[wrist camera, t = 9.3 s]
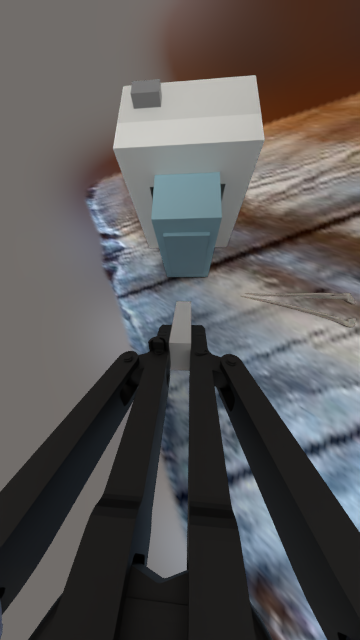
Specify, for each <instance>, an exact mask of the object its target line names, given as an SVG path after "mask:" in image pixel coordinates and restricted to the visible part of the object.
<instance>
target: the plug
mask: <svg viewBox="0 0 360 640" xmlns="http://www.w3.org/2000/svg"><path fill="white" fill-rule="evenodd" d="M221 219H222V208H221V186H220V172H210V173H189V174H167V175H155V178H154V190H153V203H152V216H151V220H152V224H153V228H154V231H155V235H156V239H157V242H158V246H159V249H160V253H161V257H162V260H163V264H164V267H165V271H166V275H167V277H208V273H209V269H210V264H211V260H212V256H213V252H214V248H215V244H216V240H217V236H218V232H219V228H220V223H221Z"/></svg>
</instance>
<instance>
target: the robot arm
mask: <svg viewBox="0 0 360 640" xmlns="http://www.w3.org/2000/svg"><path fill="white" fill-rule="evenodd" d="M148 343H149V349H150V352H148V353H145V354H141V355H138V354H137V353H136V352H134V351H128V352H125V353H123V354H121V355H120V356H119V358H117V360H116V361H115V362H114V363H113V364H112V365H111V366H110V368H109V369H108V370H107V371H106V372H105V374H104V375H103V376H102V377H101V378H100V379H99V380H98V381H97V382H96V384H95V385H94V386H93V387H92V388H91V389H90V391H88V393H87V394H86V395H85V396H84V397H83V398H82V400H81V401H80V402H79V403H78V404H77V405H76V406H75V407H74V409H73V410H72V411H71V412H70V413H69V414H68V415H67V417H66V418H65V419H64V420H63V421H62V422H61V423H60V425H59V426H58V427H57V428H56V429H55V430H54V431H53V433H52V434H51V435H50V436H49V437H48V438H47V439H46V441H45V442H44V443H43V444H42V445H41V446H40V447H39V448H38V450H37V451H36V452H35V453H34V454H33V455H32V456H31V458H30V459H29V460H28V461H27V462H26V463H25V464H24V466H23V467H22V468H21V469H20V470H19V471H18V472H17V473H16V475H15V476H14V477H13V478H12V479H11V480H10V481H9V483H8V484H7V485H6V486H5V487H4V488H3V490H2V491H1V492H0V638H1V635H2V628H3V624H2V614H3V613H4V612H5V610H6V609H7V608H8V606H9V605H10V604H11V602H12V601H13V600H14V598H15V597H16V596H17V594H18V593H19V592H20V590H21V589H22V587H23V586H24V585H25V583H26V582H27V580H28V579H29V577H30V576H31V574H32V573H33V571H34V570H35V568H36V567H37V565H38V564H39V562H40V560H41V559H42V557H43V555H44V554H45V552H46V551H47V549H48V547H49V546H50V544H51V543H52V541H53V539H54V537H55V536H56V533H57V532H58V530H59V529H60V527H61V525H62V523H63V522H64V520H65V518H66V517H67V515H68V513H69V511H70V510H71V508H72V506H73V504H74V503H75V501H76V499H77V497H78V496H79V494H80V492H81V490H82V489H83V487H84V485H85V483H86V482H87V480H88V478H89V477H90V475H91V473H92V471H93V470H94V468H95V466H96V464H97V463H98V461H99V459H100V458H101V456H102V454H103V452H104V451H105V449H106V447H107V445H108V444H109V442H110V440H111V439H112V437H113V435H114V433H115V432H116V430H117V428H118V426H119V425H120V423H121V421H122V420H123V418H124V416H125V414H126V413H127V411H128V409H129V407H130V406H131V404H132V402H133V404H132V408H131V411H130V414H129V417H128V420H127V423H126V426H125V429H124V432H123V436H122V439H121V442H120V445H119V448H118V451H117V454H116V457H115V460H114V463H113V466H112V470H111V473H110V476H109V479H108V482H107V485H106V488H105V491H104V494H103V495H102V497H101V499H100V500H99V502H98V503H97V504H96V505H95V507H94V509H93V511H92V513H91V515H90V518H89V520H88V523H87V525H86V528H85V531H84V534H83V536H82V540H81V542H80V545H79V548H78V551H77V554H76V557H75V559H74V562H73V565H72V568H71V571H70V574H69V577H68V580H67V583H66V586H65V588H64V591H63V593H62V594H61V596H60V597H59V598H58V599H57V601H56V602H55V603H54V604H53V606H52V607H51V608H50V610H49V611H48V613H47V614H46V616H45V617H44V618H43V620H42V621H41V622H40V624H39V625H38V627H37V628H36V629H35V631H34V632H33V634H32V635H31V636H30V638H29V639H28V640H272V638H271V636H270V634H269V632H268V630H267V628H266V626H265V624H264V623H263V621H262V619H261V618H260V616H259V614H258V613H257V611H256V609H255V608H254V607H253V605H252V604H251V602H250V600H249V594H248V587H247V581H246V574H245V568H244V561H243V555H242V548H241V542H240V536H239V531H238V526H237V522H236V519H235V516H234V513H233V510H232V506H231V500H230V494H229V487H228V480H227V473H226V465H225V458H224V451H223V444H222V437H221V430H220V423H219V416H218V409H217V402H216V395H215V388H214V386H216V387H217V390H218V392H219V395H220V397H221V399H222V402H223V404H224V407H225V409H226V411H227V414H228V416H229V418H230V421H231V423H232V426H233V428H234V430H235V433H236V435H237V437H238V440H239V442H240V445H241V447H242V449H243V452H244V454H245V456H246V459H247V461H248V464H249V466H250V468H251V471H252V473H253V475H254V478H255V480H256V483H257V485H258V487H259V490H260V492H261V494H262V497H263V499H264V502H265V504H266V506H267V509H268V511H269V513H270V516H271V518H272V520H273V523H274V525H275V528H276V530H277V532H278V535H279V537H280V539H281V542H282V544H283V547H284V549H285V551H286V554H287V556H288V558H289V561H290V563H291V566H292V568H293V570H294V573H295V575H296V577H297V579H298V581H299V584H300V586H301V588H302V590H303V592H304V595H305V597H306V599H307V601H308V603H309V605H310V607H311V609H312V611H313V613H314V615H315V617H316V619H317V621H318V623H319V625H320V626H321V628H322V630H323V632H324V634H325V636H326V638H327V640H360V532H359V531H358V529H357V528H356V527H355V525H354V524H353V522H352V521H351V519H350V518H349V516H348V515H347V513H346V512H345V511H344V509H343V508H342V506H341V505H340V503H339V502H338V500H337V499H336V497H335V496H334V495H333V493H332V492H331V490H330V489H329V487H328V486H327V484H326V483H325V482H324V480H323V479H322V477H321V476H320V474H319V473H318V471H317V470H316V468H315V467H314V466H313V464H312V463H311V461H310V460H309V458H308V457H307V455H306V454H305V452H304V451H303V450H302V448H301V447H300V445H299V444H298V442H297V441H296V439H295V438H294V436H293V435H292V434H291V432H290V431H289V429H288V428H287V426H286V425H285V423H284V422H283V421H282V419H281V418H280V416H279V415H278V413H277V412H276V410H275V409H274V407H273V406H272V405H271V403H270V402H269V400H268V399H267V397H266V396H265V394H264V393H263V391H262V390H261V389H260V387H259V386H258V384H257V383H256V381H255V380H254V378H253V377H252V376H251V374H250V373H249V371H248V370H247V368H246V367H245V365H244V364H243V362H242V361H241V360H240V359H239V358H238V357H237V356H235V355H232V354H226V355H223V356H222V357H218V356H215V355H213V354H211V353H210V352H209V350H208V348H207V341H206V333H205V328H204V327H203V326H202V325H191V302H187V301H177V302H176V307H175V313H174V318H173V323H172V325H162V326H161V327H160V328H159V331H158V334H157V336H156V337H153V338H151V339H150V340H149V342H148ZM170 368H171V370H185V371H190V377H189V457H188V527H187V570H186V571H184V572H181V573H179V574H176V575H174V576H171V577H168V578H162V577H161V576H159V575H158V574H156V573H155V572H153V571H152V570H150V569H149V568H148V567H146V566H147V558H148V551H149V543H150V534H151V519H152V518H151V517H152V507H153V500H154V492H155V485H156V477H157V470H158V462H159V455H160V448H161V440H162V433H163V425H164V418H165V410H166V403H167V395H168V388H169V381H170ZM133 400H134V401H133Z"/></svg>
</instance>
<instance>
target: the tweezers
mask: <svg viewBox="0 0 360 640" xmlns="http://www.w3.org/2000/svg"><path fill="white" fill-rule="evenodd" d="M245 294H250V295H256V296H293V297H303V298H319V299H343V300H345V301H347V302H349V303H350V304H355V300H354V298H353V297H352V295H350V294H351V293H342V294H331V293H301V294H251V293H245ZM331 295H335V296H331ZM241 297H245V296H241ZM245 298H250V299H254V300H259V301H264V302H268V303H273V304H277V305H280V306H284V307H288V308H292V309H296V310H299V311H303V312H307V313H311V314H314V315H317V316H320V317H323V318H326V319H330V320H332V321H335V322H337V323H340V324H343V325H345V326H348V327H354V325H355V322H356V318H352V319H348V320H346V321H345V320H344V319H341V318H338V317H334V316H332V315H328V314H324V313H320V312H316V311H312V310H308V309H305V308H301V307H297V306H293V305H289V304H284V303H280V302H274V301H270V300H264V299H258V298H252V297H245Z"/></svg>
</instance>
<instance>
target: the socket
mask: <svg viewBox="0 0 360 640" xmlns="http://www.w3.org/2000/svg"><path fill="white" fill-rule="evenodd" d="M264 140H265V139H264V132H263V125H262V117H261V111H260V103H259V96H258V89H257V82H256V76H255V75H253V76H241V77H229V78H218V79H205V80H192V81H181V82H168V83H160V79H156V80H146V81H145V80H144V81H133V82H132V86H123V92H122V98H121V104H120V110H119V116H118V122H117V128H116V134H115V140H114V147H113V150H114V152H115V155H116V158H117V161H118V163H119V166H120V169H121V172H122V174H123V177H124V180H125V182H126V185H127V188H128V191H129V193H130V196H131V199H132V202H133V204H134V207H135V210H136V212H137V215H138V218H139V221H140V223H141V226H142V229H143V231H144V234H145V237H146V240H147V242H148V245H149V248H159V246H158V242H157V239H156V235H155V231H154V228H153V224H152V220H151V216H152V203H153V190H154V178H155V175H167V174H189V173H210V172H220V186H221V208H222V219H221V223H220V228H219V232H218V236H217V240H216V244H215V247H227V245H228V242H229V239H230V236H231V233H232V230H233V228H234V225H235V222H236V219H237V216H238V213H239V211H240V208H241V205H242V202H243V199H244V197H245V194H246V191H247V188H248V185H249V182H250V180H251V177H252V174H253V171H254V168H255V165H256V163H257V160H258V157H259V154H260V151H261V149H262V146H263V143H264Z"/></svg>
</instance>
